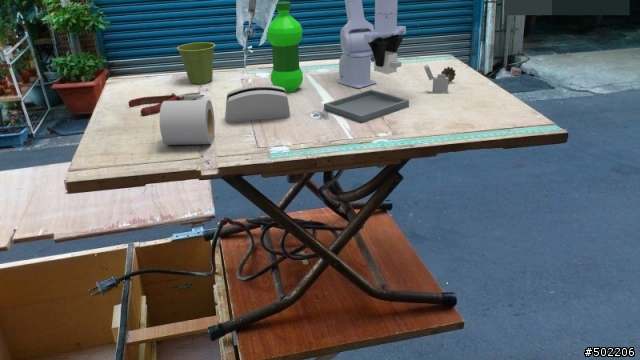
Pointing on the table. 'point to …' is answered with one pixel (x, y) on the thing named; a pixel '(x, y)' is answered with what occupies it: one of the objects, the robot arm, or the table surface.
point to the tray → (366, 105)
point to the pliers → (160, 101)
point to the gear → (449, 73)
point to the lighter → (438, 81)
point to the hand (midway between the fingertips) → (384, 64)
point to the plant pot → (198, 61)
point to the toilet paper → (187, 122)
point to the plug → (388, 63)
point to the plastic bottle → (285, 49)
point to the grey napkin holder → (256, 103)
